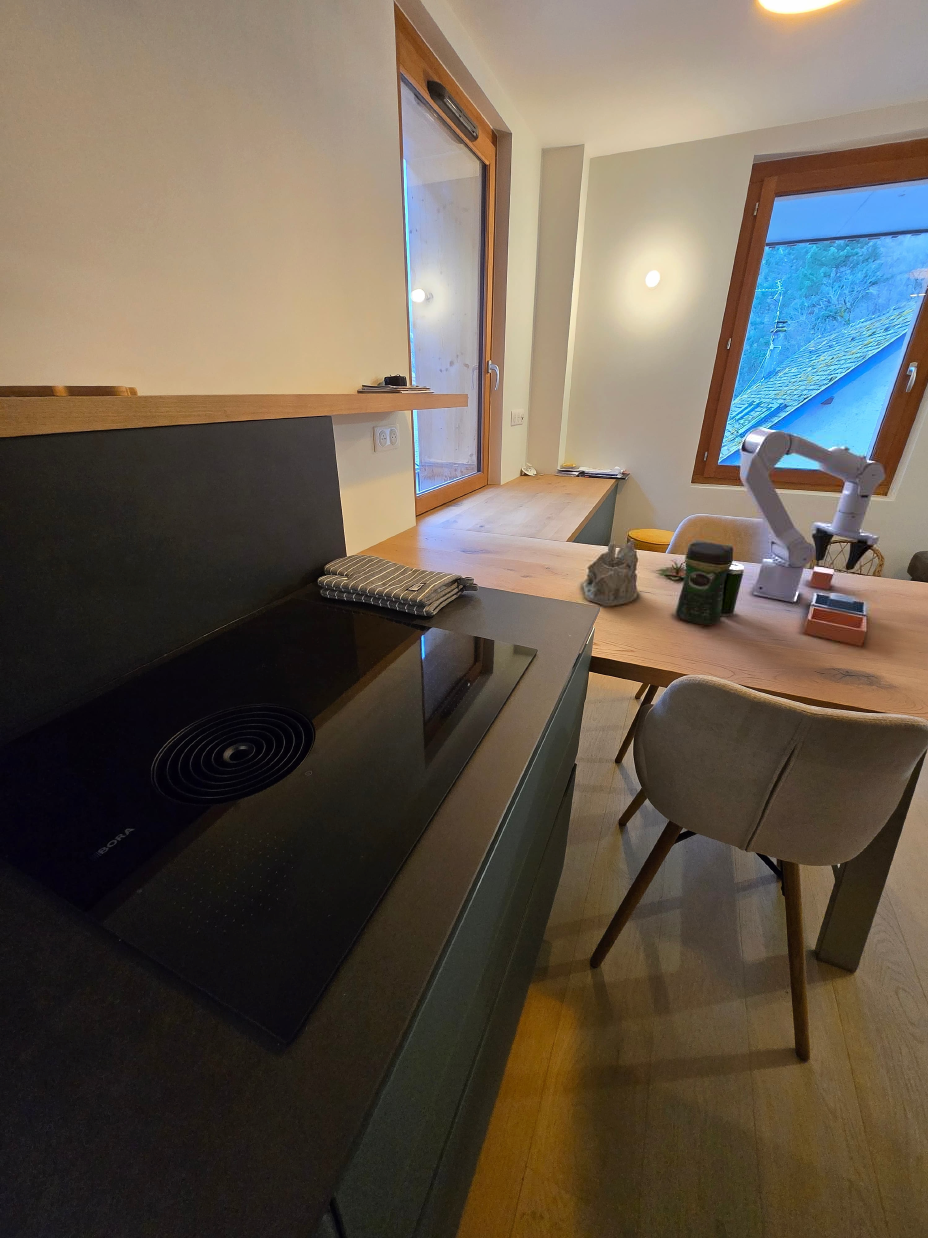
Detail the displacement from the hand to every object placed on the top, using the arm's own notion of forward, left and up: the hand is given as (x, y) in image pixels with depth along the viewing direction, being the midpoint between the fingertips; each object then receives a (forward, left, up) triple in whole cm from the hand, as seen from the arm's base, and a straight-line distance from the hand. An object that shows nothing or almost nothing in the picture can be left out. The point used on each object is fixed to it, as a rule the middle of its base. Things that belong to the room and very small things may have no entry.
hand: (833, 564), depth 125 cm
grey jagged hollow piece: (-48, -31, -9) cm, 57 cm away
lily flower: (-36, -7, -9) cm, 37 cm away
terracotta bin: (+3, -24, -8) cm, 26 cm away
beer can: (-20, -27, -9) cm, 34 cm away
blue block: (+3, -14, -8) cm, 16 cm away
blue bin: (+3, -14, -8) cm, 17 cm away
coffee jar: (-24, -34, -9) cm, 42 cm away
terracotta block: (-2, +7, -8) cm, 11 cm away
